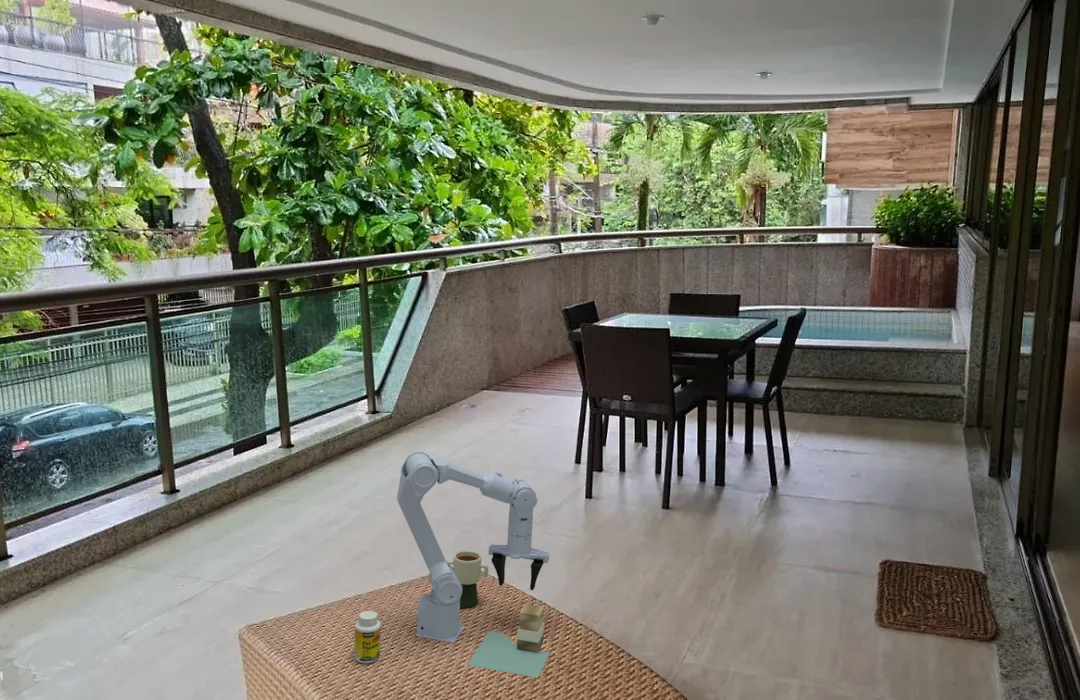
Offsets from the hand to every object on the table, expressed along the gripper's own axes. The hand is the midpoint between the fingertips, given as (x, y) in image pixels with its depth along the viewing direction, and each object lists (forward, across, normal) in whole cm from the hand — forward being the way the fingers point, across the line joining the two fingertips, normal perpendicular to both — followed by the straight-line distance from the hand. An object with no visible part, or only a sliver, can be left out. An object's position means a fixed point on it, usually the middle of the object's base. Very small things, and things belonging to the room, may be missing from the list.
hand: (517, 586), depth 203 cm
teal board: (+10, +3, -13) cm, 17 cm away
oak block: (+5, +6, -9) cm, 12 cm away
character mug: (+11, -15, +7) cm, 20 cm away
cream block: (+8, +6, -9) cm, 13 cm away
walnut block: (+10, +6, -9) cm, 14 cm away
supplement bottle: (+11, -27, -24) cm, 38 cm away
